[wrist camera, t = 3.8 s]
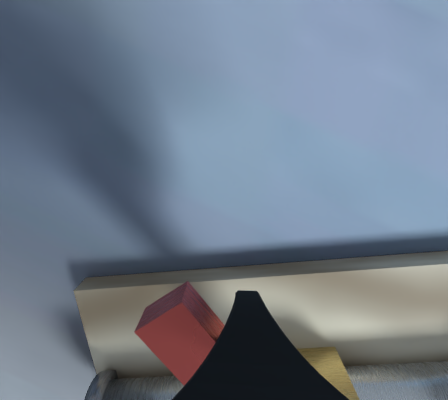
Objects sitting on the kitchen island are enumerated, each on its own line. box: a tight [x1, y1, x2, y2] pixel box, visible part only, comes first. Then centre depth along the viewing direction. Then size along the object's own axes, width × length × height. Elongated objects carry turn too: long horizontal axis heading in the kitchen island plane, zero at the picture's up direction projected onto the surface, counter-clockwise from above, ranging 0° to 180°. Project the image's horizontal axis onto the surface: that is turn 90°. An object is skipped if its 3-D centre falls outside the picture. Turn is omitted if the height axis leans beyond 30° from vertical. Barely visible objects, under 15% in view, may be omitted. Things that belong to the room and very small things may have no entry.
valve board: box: [74, 251, 448, 379], centre depth 19 cm, size 15×26×2 cm, turn 96°
